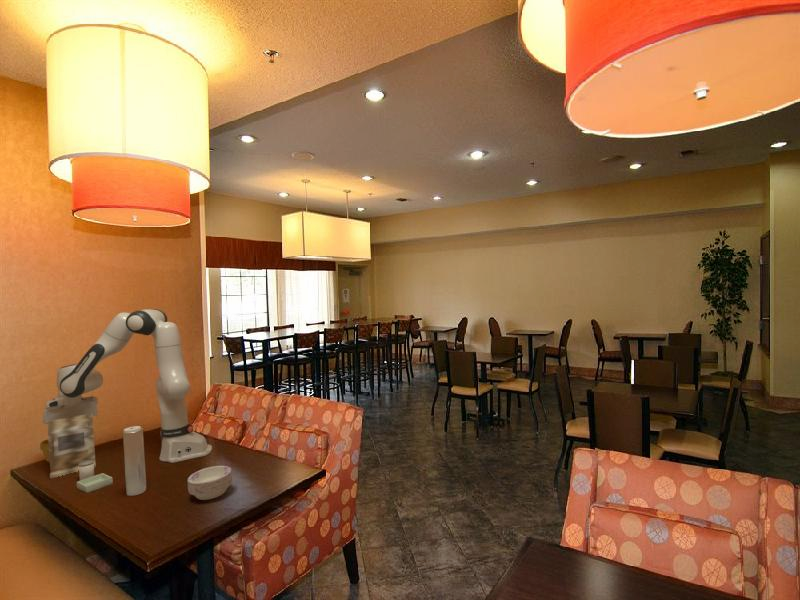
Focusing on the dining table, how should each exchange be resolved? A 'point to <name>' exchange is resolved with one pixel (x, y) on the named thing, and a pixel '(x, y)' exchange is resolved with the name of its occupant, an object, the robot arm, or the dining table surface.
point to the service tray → (94, 483)
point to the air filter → (134, 460)
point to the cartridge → (86, 469)
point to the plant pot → (45, 449)
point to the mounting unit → (70, 443)
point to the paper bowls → (210, 482)
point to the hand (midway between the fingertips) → (71, 428)
